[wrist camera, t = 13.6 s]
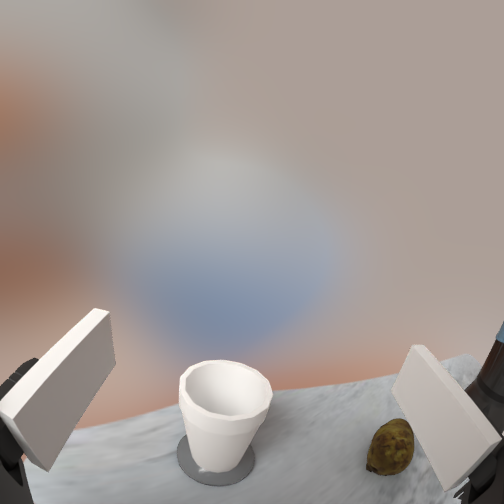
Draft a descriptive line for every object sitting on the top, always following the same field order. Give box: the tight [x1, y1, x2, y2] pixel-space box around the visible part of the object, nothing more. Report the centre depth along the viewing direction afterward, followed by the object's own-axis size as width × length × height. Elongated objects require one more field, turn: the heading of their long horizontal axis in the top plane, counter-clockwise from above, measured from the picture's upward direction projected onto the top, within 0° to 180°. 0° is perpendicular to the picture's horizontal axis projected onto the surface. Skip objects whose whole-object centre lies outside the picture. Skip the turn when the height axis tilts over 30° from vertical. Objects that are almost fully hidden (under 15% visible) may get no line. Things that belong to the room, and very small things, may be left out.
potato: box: [366, 418, 414, 476], centre depth 28 cm, size 8×13×8 cm, turn 119°
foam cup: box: [179, 360, 273, 473], centre depth 27 cm, size 10×9×13 cm
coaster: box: [177, 434, 254, 486], centre depth 29 cm, size 10×10×1 cm
